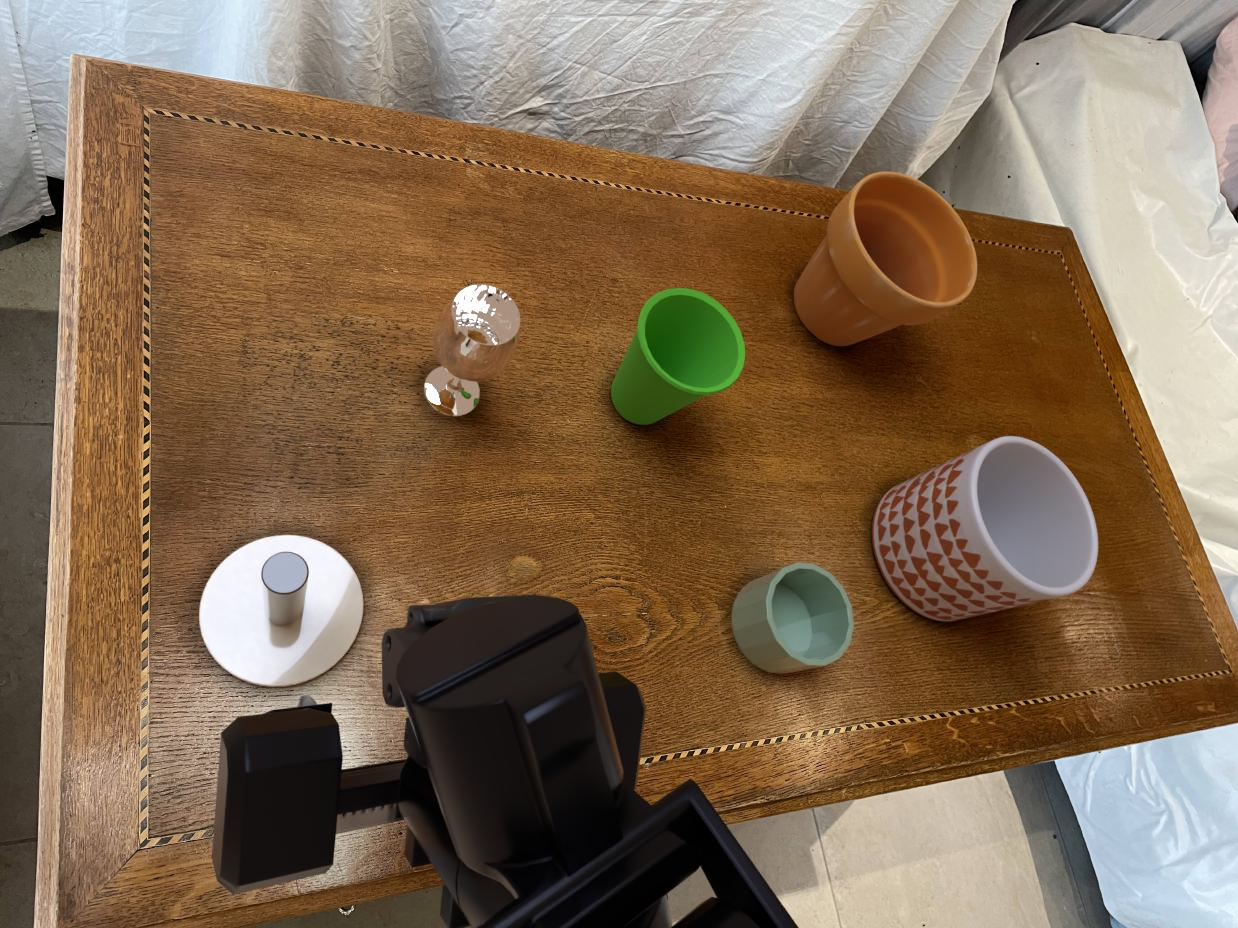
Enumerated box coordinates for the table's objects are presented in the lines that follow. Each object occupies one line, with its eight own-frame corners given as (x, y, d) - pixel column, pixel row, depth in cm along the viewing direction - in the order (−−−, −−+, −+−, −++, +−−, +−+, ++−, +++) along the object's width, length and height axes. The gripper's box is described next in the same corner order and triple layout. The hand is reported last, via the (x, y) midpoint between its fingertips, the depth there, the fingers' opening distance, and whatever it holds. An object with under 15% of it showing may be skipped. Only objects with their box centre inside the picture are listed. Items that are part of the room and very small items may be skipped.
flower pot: (905, 358, 83) (1002, 294, 72) (806, 383, 77) (896, 316, 66) (849, 245, 86) (934, 165, 75) (748, 259, 80) (825, 175, 69)
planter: (979, 643, 74) (1101, 620, 63) (859, 590, 71) (966, 556, 60) (987, 515, 80) (1100, 473, 69) (877, 461, 77) (977, 409, 66)
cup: (595, 340, 69) (646, 271, 60) (687, 370, 72) (749, 309, 62) (581, 430, 66) (632, 372, 56) (678, 459, 68) (742, 408, 59)
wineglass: (477, 354, 64) (515, 274, 54) (496, 418, 63) (538, 348, 53) (407, 362, 62) (433, 279, 52) (424, 429, 60) (454, 357, 50)
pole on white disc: (354, 688, 52) (371, 669, 43) (186, 684, 49) (163, 662, 39) (369, 543, 56) (388, 496, 46) (214, 530, 52) (199, 475, 43)
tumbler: (817, 675, 66) (859, 667, 61) (734, 672, 63) (771, 663, 58) (808, 581, 69) (847, 566, 64) (728, 574, 66) (762, 558, 61)
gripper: (747, 625, 33) (565, 543, 46) (272, 669, 23) (208, 546, 36) (713, 874, 34) (544, 725, 47) (243, 1025, 24) (191, 780, 37)
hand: (395, 694), depth 42 cm, fingers open, 9 cm apart
